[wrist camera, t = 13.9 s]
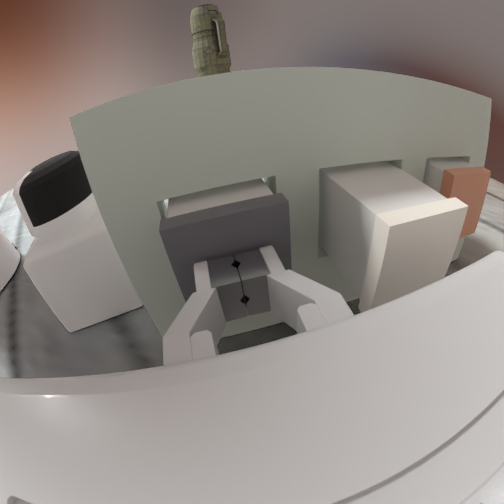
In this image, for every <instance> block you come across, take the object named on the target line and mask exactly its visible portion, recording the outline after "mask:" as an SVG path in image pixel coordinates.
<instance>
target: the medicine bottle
mask: <svg viewBox="0 0 504 504" xmlns="http://www.w3.org/2000/svg"><path fill="white" fill-rule="evenodd" d="M13 196H14V198H15V201H16V203H17V205H18V208H19V210H20V212H21V214H22V217H23V219H24V221H25V223H26V225H27V227H28V229H29V231H30V233H31V235H32V236H35V238H34V240H33V242H32V244H31V246H30V249H29V251H28V253H27V255H26V258H25V260H24V263H23V267H24V269H25V271H26V273H27V274H28V276H29V277H30V279H31V281H32V282H33V284H34V285H35V287H36V288H37V290H38V291H39V293H40V294H41V296H42V297H43V298H44V300H45V301H46V303H47V304H48V305H49V307H50V308H51V310H52V311H53V312H54V314H55V315H56V316H57V318H58V319H59V320H60V321H61V323H62V324H63V325H64V327H65V328H66V329H67V330H68V331H69V332H74V331H77V330H80V329H83V328H85V327H88V326H91V325H93V324H96V323H99V322H102V321H104V320H107V319H110V318H112V317H115V316H118V315H120V314H123V313H126V312H128V311H131V310H134V309H136V308H139V307H141V306H143V303H142V301H141V299H140V298H139V296H138V294H137V292H136V290H135V288H134V286H133V284H132V282H131V280H130V278H129V276H128V274H127V272H126V270H125V268H124V266H123V264H122V262H121V260H120V257H119V255H118V253H117V251H116V249H115V246H114V244H113V242H112V240H111V237H110V235H109V233H108V230H107V228H106V226H105V223H104V221H103V218H102V216H101V213H100V211H99V208H98V206H97V203H96V200H95V198H94V195H93V192H92V190H91V187H90V184H89V181H88V178H87V175H86V172H85V169H84V166H83V163H82V160H81V157H80V153H79V151H68V152H65V153H62V154H60V155H57V156H55V157H52V158H50V159H48V160H47V161H44V162H43V163H41V164H39V165H38V166H36V167H34V168H33V169H32V170H30V171H29V172H27V173H26V174H25V175H24V176H22V177H21V178H20V179H19V181H18V183H17V184H16V186H15V187H14V192H13Z"/></svg>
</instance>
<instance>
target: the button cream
mask: <svg viewBox="0 0 504 504" xmlns="http://www.w3.org/2000/svg"><path fill="white" fill-rule="evenodd" d="M467 210H468V205H466V204H465V203H463V202H462V201H460V200H459V199H458V198H456V197H454V198H449V199H447V198H446V197H444V196H443V195H441V194H440V193H438V192H437V191H435V190H434V189H432V188H431V187H429V186H428V185H426V184H424V183H423V182H421V181H420V180H418V179H416V178H415V177H413V176H411V175H410V174H408V173H406V172H404V171H403V170H401V169H399V168H397V167H396V166H394V165H392V164H390V163H388V162H387V161H378V162H368V163H359V164H350V165H342V166H335V167H327V168H320V169H319V234H318V243H319V244H320V245H321V247H322V248H323V249H324V250H325V252H326V253H327V254H328V256H329V257H330V259H331V260H332V261H333V263H334V264H335V265H336V267H337V268H338V269H339V271H340V272H341V273H342V275H343V276H344V278H345V279H346V280H347V282H348V283H349V285H350V286H351V287H352V289H353V290H354V292H355V293H356V294H357V296H358V297H359V299H360V302H359V306H358V308H359V310H360V311H361V313H362V312H364V311H367V310H370V309H372V308H375V307H378V306H380V305H383V304H385V303H388V302H390V301H393V300H395V299H397V298H400V297H402V296H405V295H407V294H409V293H412V292H414V291H416V290H419V289H421V288H423V287H425V286H427V285H430V284H432V283H434V282H436V281H438V280H440V279H442V278H444V277H445V275H446V273H447V270H448V268H449V265H450V262H451V260H452V257H453V254H454V251H455V249H456V246H457V243H458V240H459V237H460V234H461V231H462V227H463V224H464V221H465V217H466V214H467Z"/></svg>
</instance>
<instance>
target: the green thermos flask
mask: <svg viewBox="0 0 504 504" xmlns="http://www.w3.org/2000/svg"><path fill="white" fill-rule="evenodd" d="M190 24H191V31H192V36H193V49H192V55H193V61H194V68H195V71H196V72H197V74H198V77H203V76H208V75H214V74H221V73H228V72H230V66H231V59H230V52H229V45H228V44H227V41H226V32H225V23H224V20H223V19H222V15H221V12H220V11H219V9H218V8H217V6H215V5H212V4H207V5H201V6H197V7H195V8H194V9H192V12H191V16H190Z"/></svg>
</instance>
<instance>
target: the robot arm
mask: <svg viewBox="0 0 504 504" xmlns="http://www.w3.org/2000/svg"><path fill="white" fill-rule="evenodd" d="M19 261H20V253H19V252H18V251H17V250H16V249H15V245H14V244H13V242H12V241H9V240H8V239H7V237H6V236H5V234H4V232H3V231H2V229H1V227H0V291H1V290H2V289H3V288H4V286H5V285H6V284H7V283H8V281H9V280H10V278H11V277H12V275H13V274H14V272H15V270H16V268H17V266H18V264H19ZM194 275H195V284H196V292H194V293H192V295H191V296H190V298H189V299H188V301H187V302H186V304H185V305H184V307H183V308H182V310H181V311H180V313H179V314H178V316H177V317H176V319H175V320H174V322H173V323H172V325H171V326H170V328H169V329H168V331H167V332H166V334H165V335H164V337H163V366H158V367H152V368H146V369H139V370H131V371H124V372H116V373H107V374H97V375H86V376H73V377H55V378H0V504H504V251H500V250H497V251H494V252H492V253H490V254H489V255H487V256H485V257H484V258H482V259H480V260H478V261H476V262H474V263H472V264H471V265H469V266H467V267H465V268H463V269H461V270H459V271H457V272H455V273H453V274H451V275H449V276H447V277H445V278H442V279H440V280H438V281H436V282H434V283H432V284H430V285H427V286H425V287H423V288H421V289H419V290H416V291H414V292H412V293H409V294H407V295H405V296H402V297H400V298H397V299H395V300H393V301H390V302H388V303H385V304H383V305H380V306H378V307H375V308H372V309H370V310H367V311H364V312H362V313H359V314H356V315H354V314H353V313H352V311H351V309H350V308H349V306H348V305H347V303H346V302H345V300H344V299H343V297H342V295H341V294H340V293H338V292H336V291H334V290H332V289H330V288H328V287H326V286H324V285H321V284H319V283H317V282H315V281H313V280H311V279H309V278H307V277H304V276H302V275H300V274H298V273H296V272H294V271H292V270H290V269H289V270H285V268H284V266H283V264H282V263H281V261H280V259H279V257H278V255H277V253H276V251H275V249H274V248H273V246H272V245H269V246H265V247H261V248H259V249H255V250H251V251H247V252H243V253H238V254H234V255H229V256H224V257H219V258H215V259H210V260H207V261H201V262H197V263H194ZM246 309H247V310H246ZM268 311H271V312H272V313H273V314H274V315H276V316H277V317H278V318H280V319H281V320H282V321H284V322H285V323H287V324H288V325H289V326H291V327H292V328H293V329H295V330H296V331H297V334H296V335H293V336H289V337H286V338H282V339H279V340H275V341H272V342H268V343H264V344H261V345H257V346H253V347H249V348H245V349H241V350H237V351H233V352H228V353H224V354H220V353H219V351H218V348H217V345H218V343H219V340H220V338H221V335H222V333H223V330H224V328H225V325H226V322H228V321H232V320H236V319H239V318H243V317H246V316H248V315H249V316H251V315H255V314H259V313H263V312H268ZM247 312H248V315H247Z"/></svg>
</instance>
